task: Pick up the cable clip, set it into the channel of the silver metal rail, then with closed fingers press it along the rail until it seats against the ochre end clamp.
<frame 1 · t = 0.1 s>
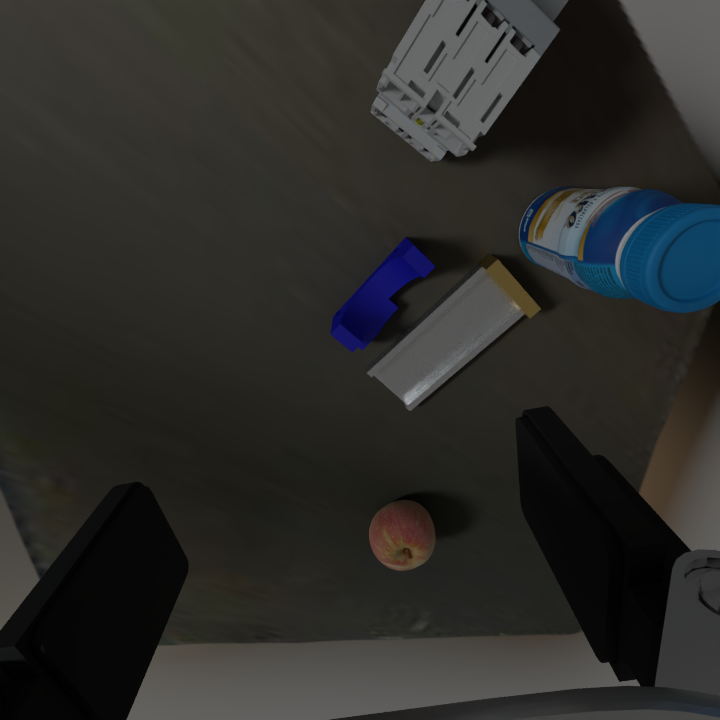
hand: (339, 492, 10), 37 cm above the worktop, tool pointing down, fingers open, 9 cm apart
apple: (399, 510, 60), on the worktop
circuit breaker: (447, 66, 38), on the worktop
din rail: (445, 335, 48), on the worktop
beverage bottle: (554, 227, 44), on the worktop
cable clip: (382, 290, 46), on the worktop
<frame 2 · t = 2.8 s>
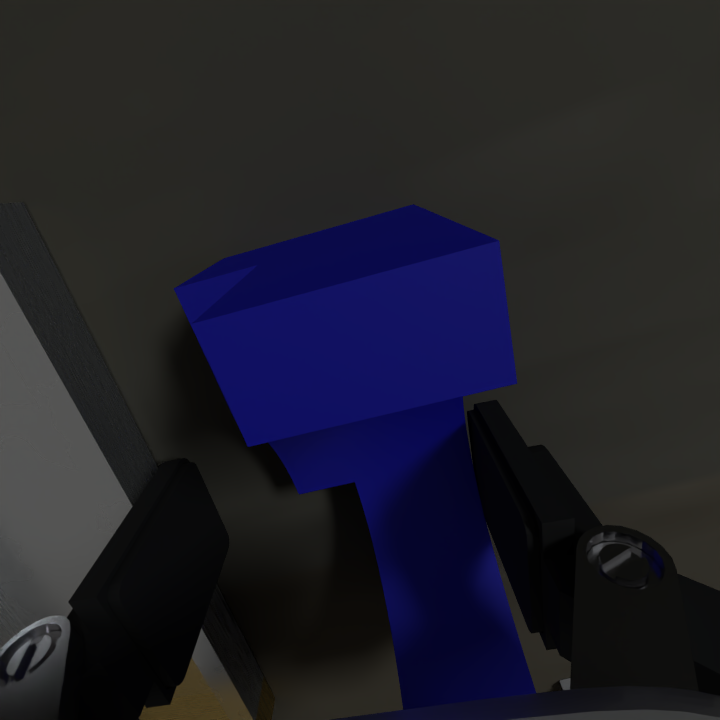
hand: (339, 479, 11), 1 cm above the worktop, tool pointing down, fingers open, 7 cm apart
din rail: (72, 544, 13), on the worktop
cable clip: (379, 437, 12), on the worktop, touching gripper
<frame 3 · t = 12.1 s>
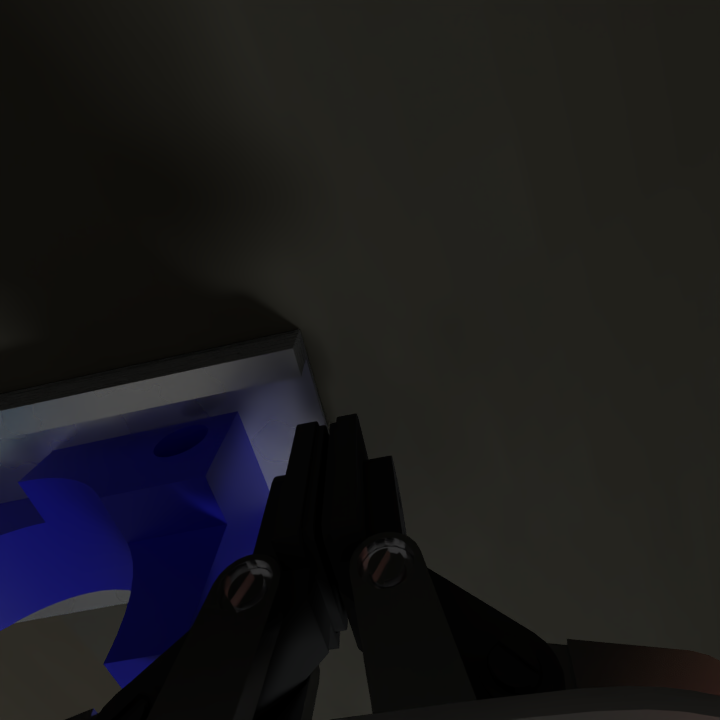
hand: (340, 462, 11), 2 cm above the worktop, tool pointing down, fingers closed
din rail: (56, 493, 14), on the worktop
cable clip: (91, 500, 14), resting on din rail
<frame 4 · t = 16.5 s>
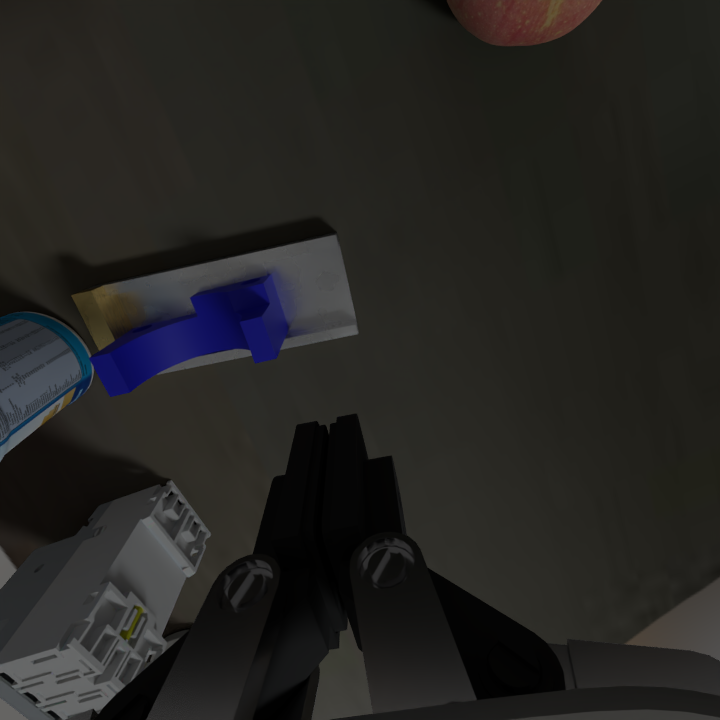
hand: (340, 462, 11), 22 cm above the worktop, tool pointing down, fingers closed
circuit breaker: (131, 527, 42), on the worktop
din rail: (230, 306, 32), on the worktop
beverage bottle: (47, 356, 34), on the worktop
cable clip: (208, 318, 33), resting on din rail
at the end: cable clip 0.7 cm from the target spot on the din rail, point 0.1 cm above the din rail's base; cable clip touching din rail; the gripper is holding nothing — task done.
